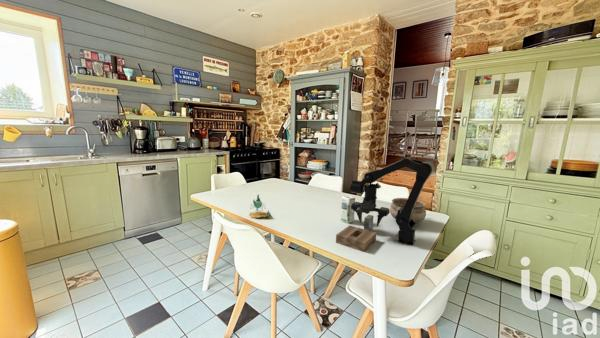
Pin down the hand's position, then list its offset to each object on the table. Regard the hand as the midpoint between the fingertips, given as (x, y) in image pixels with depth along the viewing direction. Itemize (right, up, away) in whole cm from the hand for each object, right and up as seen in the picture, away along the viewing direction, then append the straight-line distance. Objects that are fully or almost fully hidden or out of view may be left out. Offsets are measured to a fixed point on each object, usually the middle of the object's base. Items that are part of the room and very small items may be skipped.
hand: (368, 224), depth 125 cm
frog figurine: (-61, 0, +21) cm, 64 cm away
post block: (-9, -6, -11) cm, 15 cm away
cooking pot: (+25, -2, +13) cm, 28 cm away
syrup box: (-8, -2, +14) cm, 17 cm away
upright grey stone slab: (0, -4, +1) cm, 4 cm away
